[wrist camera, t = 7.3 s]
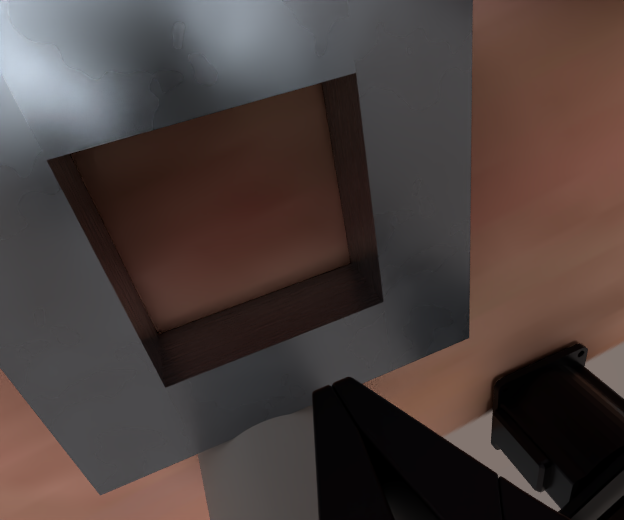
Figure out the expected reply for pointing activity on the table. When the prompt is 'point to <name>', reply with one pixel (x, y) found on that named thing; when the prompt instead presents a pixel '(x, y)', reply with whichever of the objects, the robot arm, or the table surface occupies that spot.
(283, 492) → the beverage can
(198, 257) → the table surface
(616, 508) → the robot arm
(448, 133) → the jig plate
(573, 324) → the table surface
